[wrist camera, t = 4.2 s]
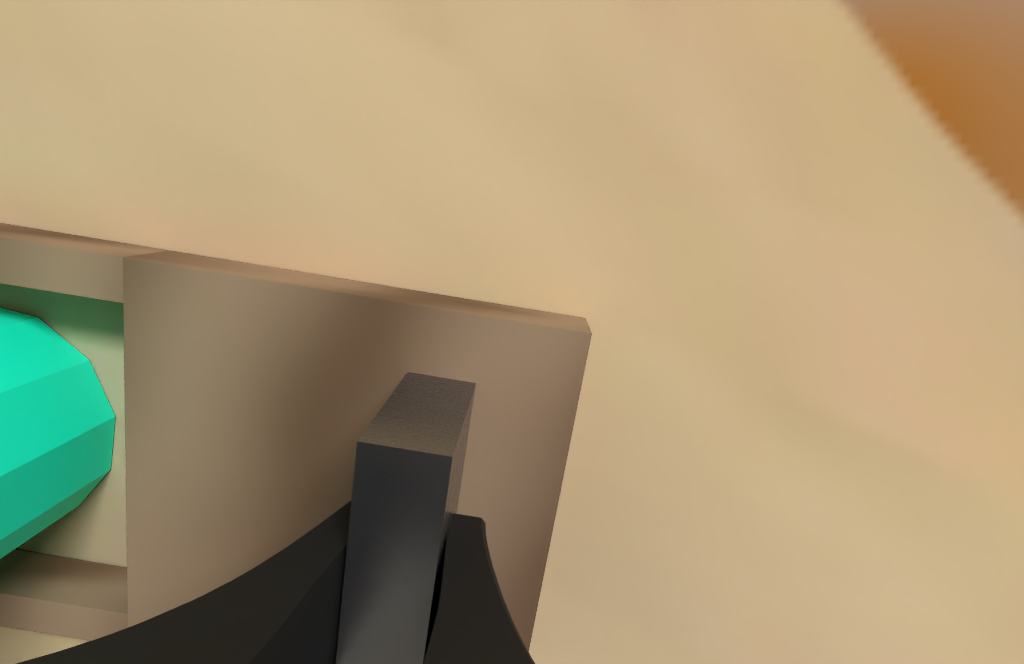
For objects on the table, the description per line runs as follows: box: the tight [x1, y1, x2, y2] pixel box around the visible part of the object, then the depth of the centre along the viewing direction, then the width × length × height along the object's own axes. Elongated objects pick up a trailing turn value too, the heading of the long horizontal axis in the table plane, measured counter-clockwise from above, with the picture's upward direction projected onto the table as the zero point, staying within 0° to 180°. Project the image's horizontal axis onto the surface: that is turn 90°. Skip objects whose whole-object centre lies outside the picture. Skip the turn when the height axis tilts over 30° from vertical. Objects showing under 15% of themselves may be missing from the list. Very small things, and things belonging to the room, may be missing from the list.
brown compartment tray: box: [0, 223, 592, 664], centre depth 12 cm, size 20×10×5 cm, turn 81°
